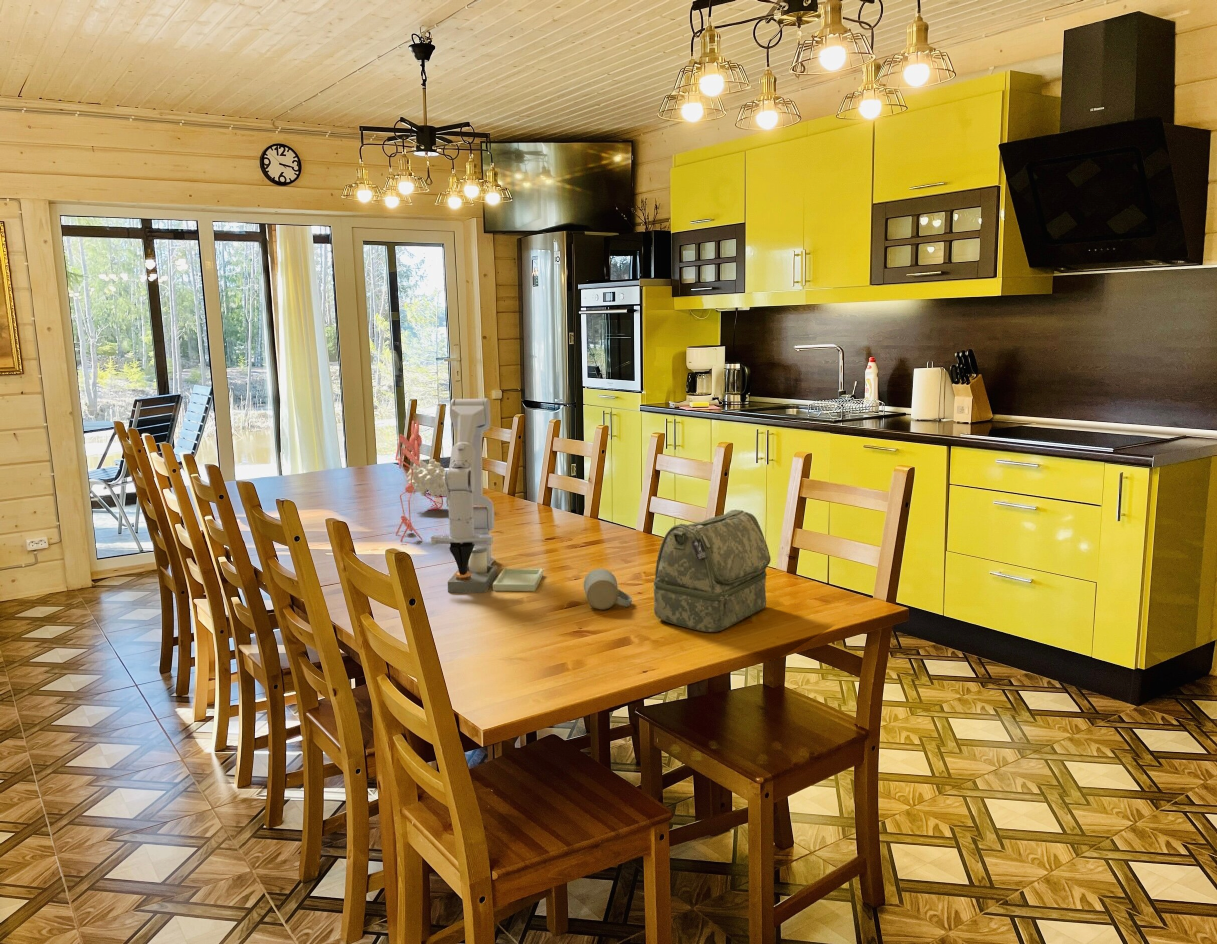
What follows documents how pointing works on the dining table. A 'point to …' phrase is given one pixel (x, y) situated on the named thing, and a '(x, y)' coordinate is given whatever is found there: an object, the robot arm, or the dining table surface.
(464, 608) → the dining table surface
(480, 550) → the cylinder
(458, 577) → the orange round piece
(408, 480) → the lumpy white molecule
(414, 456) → the figurine
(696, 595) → the lunch bag
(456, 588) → the housing
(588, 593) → the ceramic mug
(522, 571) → the tray
